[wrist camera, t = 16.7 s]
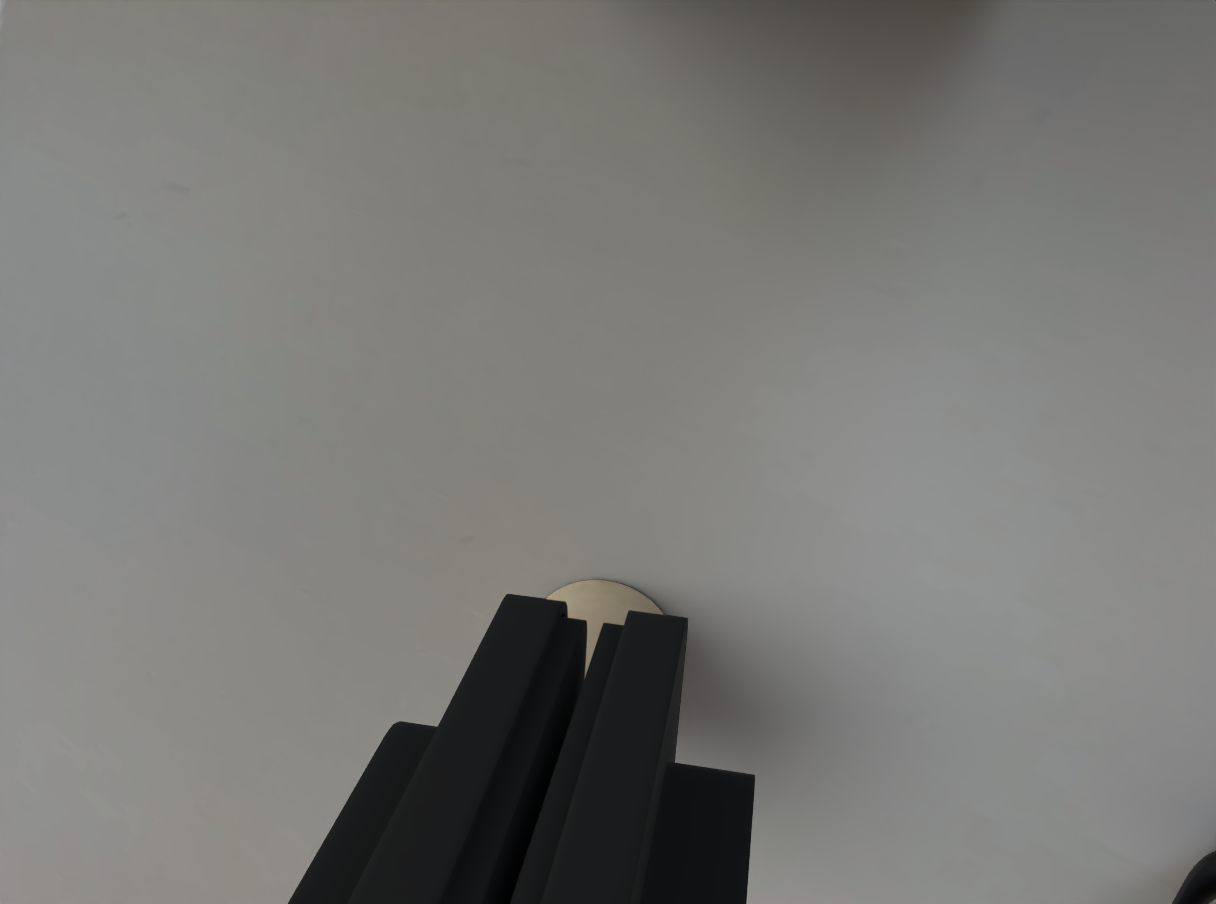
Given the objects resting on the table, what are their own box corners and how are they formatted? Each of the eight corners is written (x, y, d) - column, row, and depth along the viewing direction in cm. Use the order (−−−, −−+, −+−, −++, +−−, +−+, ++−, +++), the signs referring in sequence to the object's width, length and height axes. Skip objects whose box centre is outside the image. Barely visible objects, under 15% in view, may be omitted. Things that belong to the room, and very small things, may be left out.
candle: (513, 584, 41) (428, 755, 32) (664, 570, 40) (620, 745, 31) (544, 713, 43) (472, 910, 34) (689, 704, 42) (655, 906, 33)
